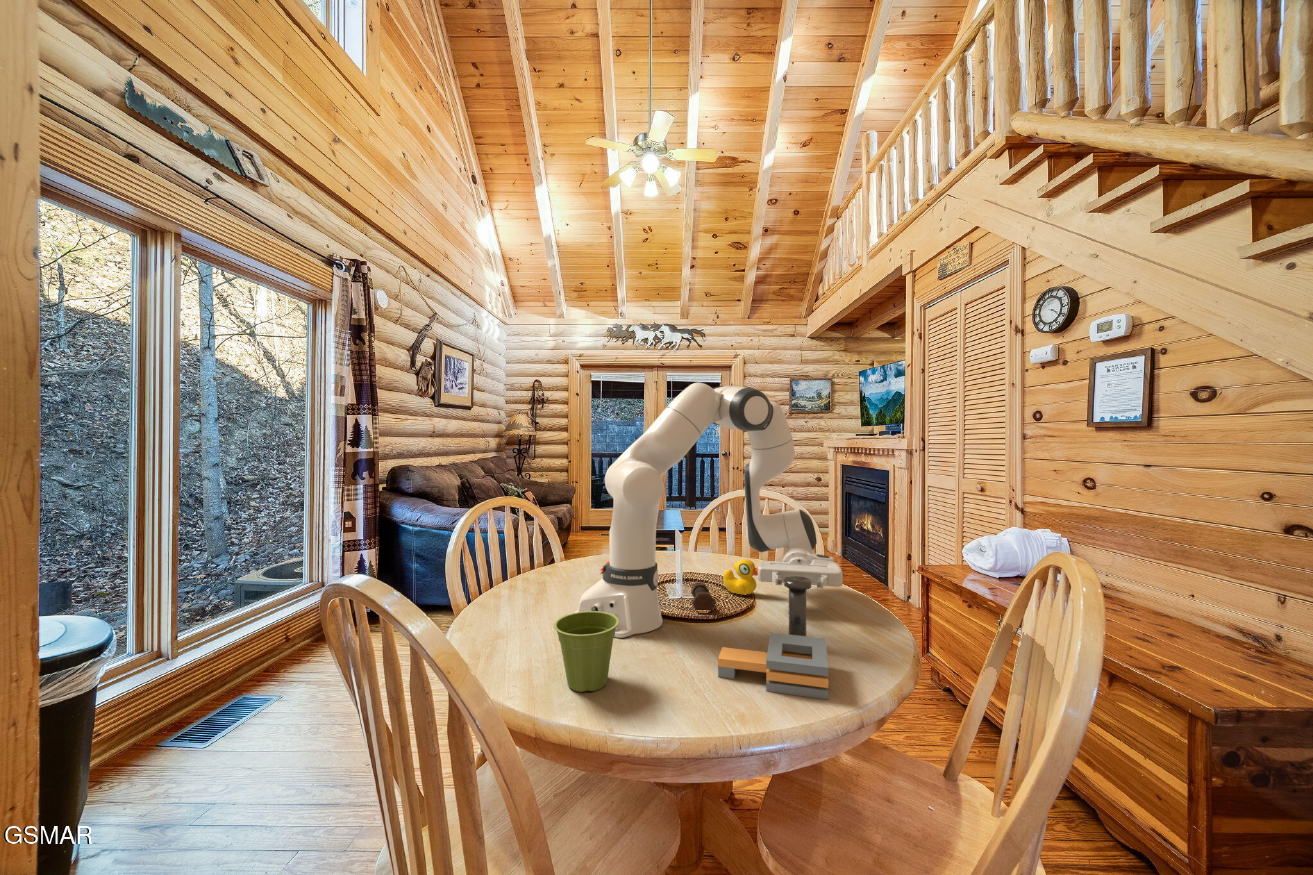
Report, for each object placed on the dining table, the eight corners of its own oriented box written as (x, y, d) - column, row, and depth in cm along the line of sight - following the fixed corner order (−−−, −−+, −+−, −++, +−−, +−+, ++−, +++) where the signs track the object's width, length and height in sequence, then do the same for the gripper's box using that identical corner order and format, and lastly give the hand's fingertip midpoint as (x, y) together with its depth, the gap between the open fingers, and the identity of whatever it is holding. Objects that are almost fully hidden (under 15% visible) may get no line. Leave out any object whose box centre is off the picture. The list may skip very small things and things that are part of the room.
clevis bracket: (715, 683, 91) (715, 654, 91) (725, 654, 103) (725, 627, 103) (828, 699, 85) (828, 667, 85) (825, 666, 97) (825, 638, 97)
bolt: (701, 600, 140) (706, 619, 125) (685, 591, 141) (689, 609, 125) (711, 582, 141) (718, 598, 126) (695, 573, 141) (700, 589, 126)
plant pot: (627, 670, 96) (626, 612, 96) (607, 704, 85) (607, 638, 84) (569, 664, 99) (569, 607, 99) (542, 695, 87) (542, 631, 87)
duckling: (766, 595, 139) (765, 559, 139) (760, 601, 134) (760, 564, 134) (727, 589, 144) (727, 554, 144) (720, 594, 140) (720, 558, 139)
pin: (783, 650, 104) (783, 582, 104) (784, 639, 110) (784, 575, 110) (811, 653, 103) (811, 585, 103) (811, 642, 108) (811, 577, 108)
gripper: (758, 553, 134) (754, 567, 121) (840, 557, 128) (844, 572, 115) (759, 576, 134) (754, 593, 121) (840, 581, 128) (844, 599, 115)
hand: (799, 583), depth 118 cm, fingers open, 8 cm apart
